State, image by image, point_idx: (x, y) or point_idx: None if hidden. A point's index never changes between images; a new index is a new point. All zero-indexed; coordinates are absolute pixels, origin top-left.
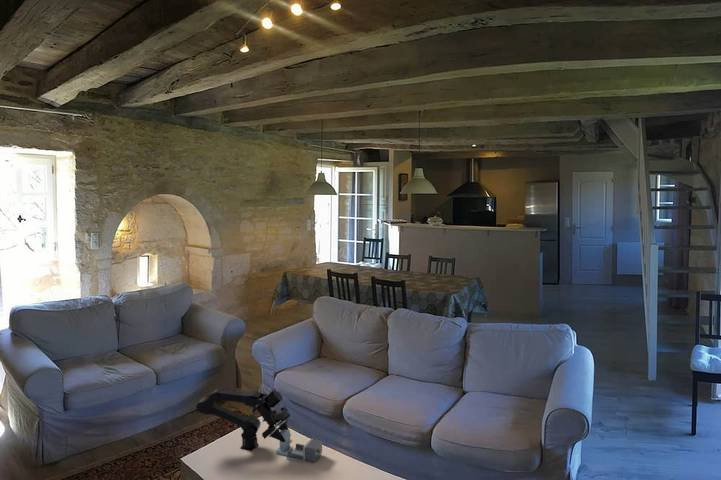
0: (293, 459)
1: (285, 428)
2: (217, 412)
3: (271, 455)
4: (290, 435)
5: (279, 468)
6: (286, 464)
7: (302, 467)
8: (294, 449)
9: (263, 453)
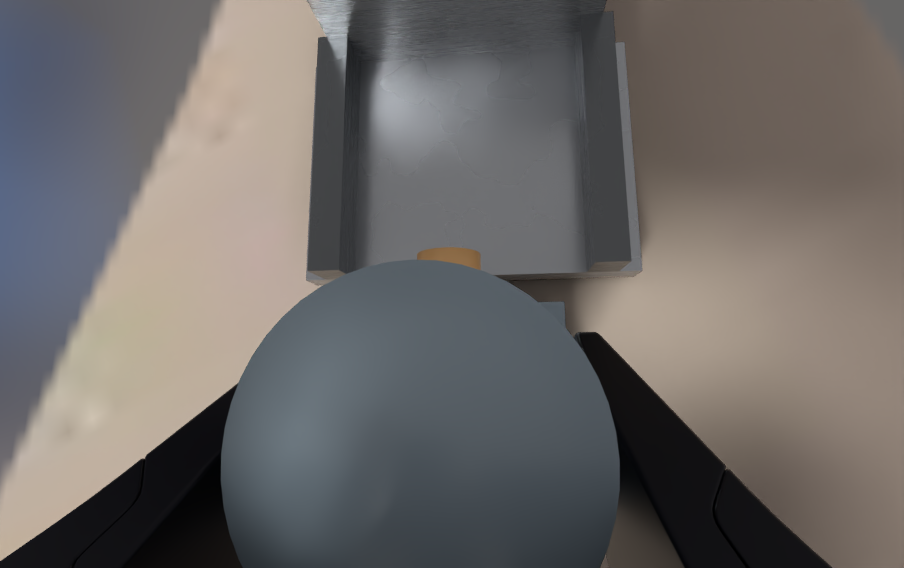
0: (630, 169)
1: (178, 556)
2: None
3: None
4: None
5: (882, 258)
6: (743, 220)
7: (704, 12)
8: None
9: None
